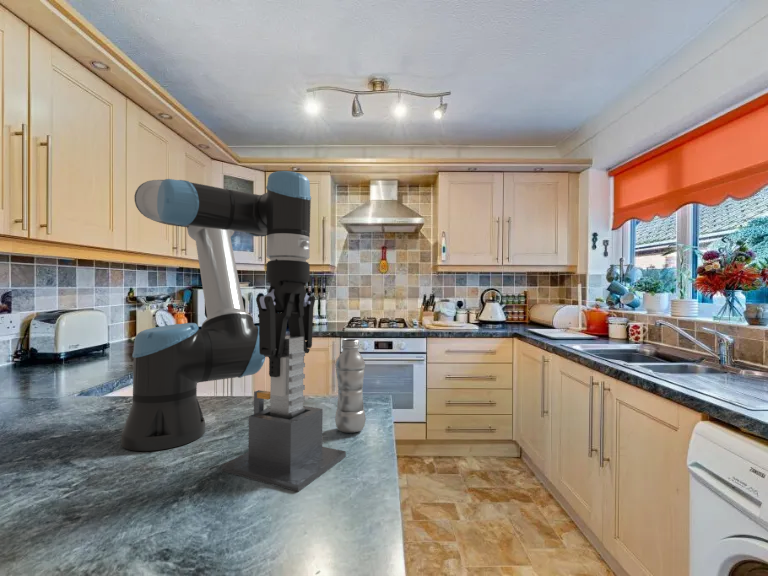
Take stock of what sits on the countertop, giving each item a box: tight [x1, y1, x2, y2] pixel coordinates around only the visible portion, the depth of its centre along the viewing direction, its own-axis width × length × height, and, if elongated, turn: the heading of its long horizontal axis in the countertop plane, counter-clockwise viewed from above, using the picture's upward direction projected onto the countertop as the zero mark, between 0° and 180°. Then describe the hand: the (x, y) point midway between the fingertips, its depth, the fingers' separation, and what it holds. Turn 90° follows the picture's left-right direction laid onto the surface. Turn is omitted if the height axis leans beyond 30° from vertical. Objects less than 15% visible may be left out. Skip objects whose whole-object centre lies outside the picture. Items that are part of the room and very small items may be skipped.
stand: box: [221, 390, 347, 492], centre depth 68 cm, size 16×14×12 cm
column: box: [269, 335, 306, 420], centre depth 68 cm, size 5×4×20 cm
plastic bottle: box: [334, 338, 366, 434], centre depth 84 cm, size 6×7×20 cm
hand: (287, 391), depth 68 cm, fingers closed on column, 4 cm apart
